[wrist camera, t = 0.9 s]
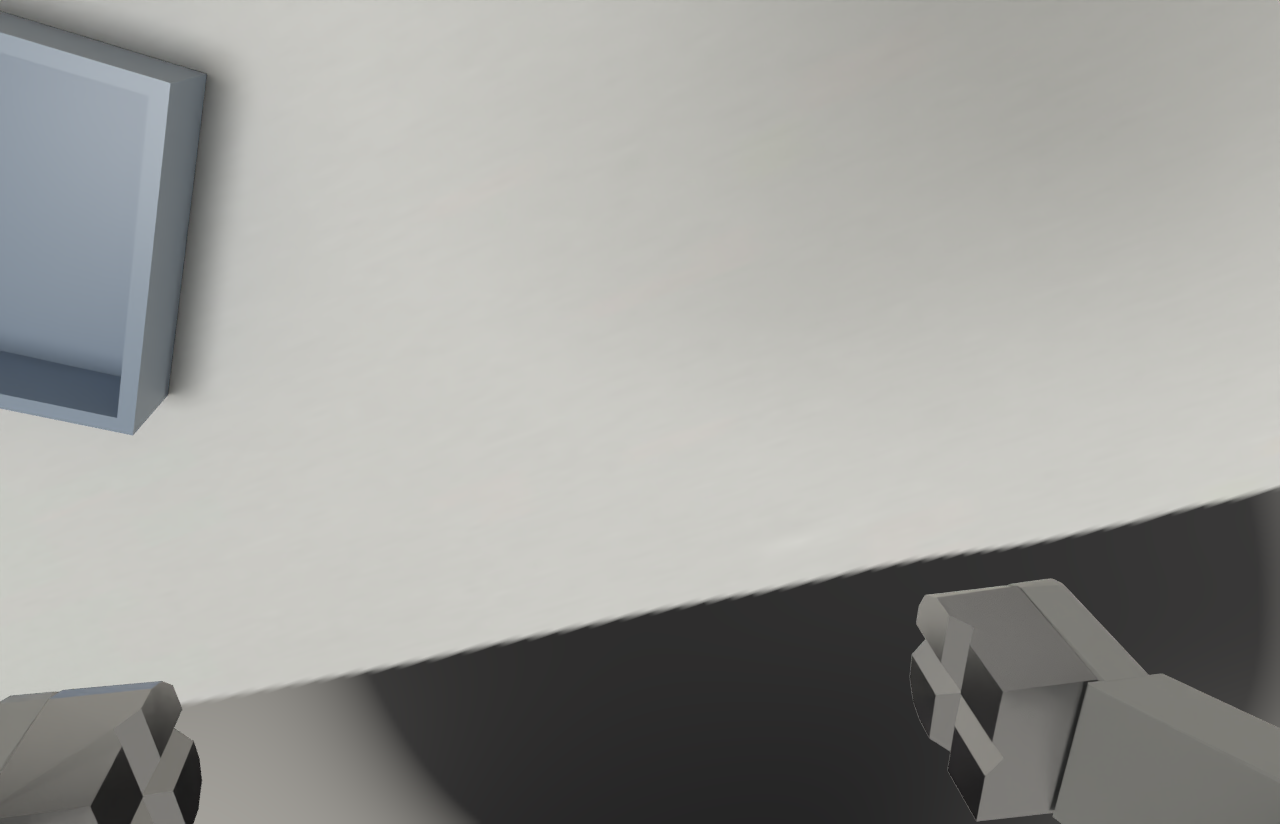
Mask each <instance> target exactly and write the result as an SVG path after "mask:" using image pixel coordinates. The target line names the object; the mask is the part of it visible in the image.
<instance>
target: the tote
mask: <svg viewBox="0 0 1280 824" xmlns="http://www.w3.org/2000/svg"><path fill="white" fill-rule="evenodd" d="M206 77H207V74H205V73H202V72H198V71H195V70H192V69H189V68H185V67H182V66H179V65H175V64H172V63H169V62H166V61H162V60H159V59H156V58H152V57H149V56H146V55H143V54H139V53H136V52H133V51H129V50H126V49H123V48H120V47H116V46H113V45H110V44H106V43H103V42H100V41H97V40H93V39H90V38H87V37H83V36H80V35H77V34H74V33H70V32H67V31H64V30H60V29H57V28H54V27H51V26H47V25H44V24H41V23H37V22H34V21H31V20H28V19H24V18H21V17H18V16H14V15H11V14H8V13H5V12H1V11H0V408H1V409H6V410H11V411H16V412H21V413H26V414H31V415H36V416H41V417H45V418H50V419H55V420H60V421H65V422H70V423H75V424H80V425H85V426H90V427H95V428H100V429H104V430H109V431H114V432H119V433H124V434H129V435H134V434H135V432H136V431H137V430H138V429H139V428H140V427H141V425H142V424H143V423H144V422H145V421H146V420H147V418H148V417H149V416H150V415H151V414H152V413H153V412H154V410H155V409H156V408H157V407H158V406H159V405H160V403H161V402H162V401H163V400H164V399H165V398H166V396H167V395H168V389H169V381H170V373H171V364H172V356H173V348H174V340H175V332H176V323H177V315H178V307H179V299H180V290H181V282H182V274H183V266H184V258H185V249H186V241H187V233H188V225H189V216H190V208H191V200H192V192H193V184H194V175H195V167H196V159H197V151H198V142H199V134H200V126H201V118H202V109H203V101H204V93H205V85H206Z"/></svg>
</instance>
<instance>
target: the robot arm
mask: <svg viewBox="0 0 1280 824" xmlns="http://www.w3.org/2000/svg"><path fill="white" fill-rule="evenodd" d="M916 624H917V626H918V627H919V629H920V631H921V632H922V634H923V635H924V637H925V641H924V642H923V643H922V644H921V645H920V646H919V647H918V648H917V649H916V650H915V652H914V653H913V654H912V659H911V670H910V684H911V691H912V697H913V703H914V706H915V708H916V711H917V714H918V716H919V720H920V722H921V723H922V725H923V727H924V729H925V731H926V733H927V735H928V737H929V738H930V739H932V740H933V741H935V742H936V743H938V744H939V745H941V746H943V747H944V748H946V749H947V750H949V751H950V757H949V764H948V772H949V774H950V776H951V777H952V779H953V781H954V783H955V785H956V786H957V788H958V790H959V792H960V793H961V795H962V797H963V799H964V801H965V802H966V804H967V806H968V807H969V809H970V811H971V813H972V815H973V816H974V818H975V820H976V821H984V820H992V819H1002V818H1011V817H1019V816H1028V815H1038V814H1046V813H1054V815H1053V817H1054V818H1055V819H1056V820H1058V821H1059V822H1061V823H1062V824H1280V728H1278V727H1275V726H1274V725H1271V724H1269V723H1267V722H1265V721H1263V720H1261V719H1258V718H1256V717H1254V716H1252V715H1250V714H1248V713H1246V712H1243V711H1241V710H1239V709H1237V708H1235V707H1233V706H1230V705H1228V704H1226V703H1224V702H1222V701H1220V700H1218V699H1216V698H1213V697H1211V696H1209V695H1207V694H1205V693H1203V692H1200V691H1198V690H1196V689H1194V688H1192V687H1190V686H1187V685H1185V684H1183V683H1181V682H1179V681H1177V680H1175V679H1173V678H1170V677H1168V676H1166V675H1164V674H1155V675H1148V674H1147V673H1146V672H1145V671H1144V670H1143V668H1142V667H1141V666H1140V665H1139V664H1138V663H1137V662H1136V661H1135V660H1134V659H1133V658H1132V657H1131V656H1130V655H1129V654H1128V653H1127V652H1126V650H1125V649H1124V648H1123V647H1122V646H1121V645H1120V644H1119V643H1118V642H1117V641H1116V640H1115V639H1114V638H1113V637H1112V635H1111V634H1110V633H1109V632H1108V631H1107V630H1106V629H1105V628H1104V627H1103V626H1102V625H1101V624H1100V623H1099V622H1098V621H1097V620H1096V619H1095V617H1094V616H1093V615H1092V614H1091V613H1090V612H1089V611H1088V610H1087V609H1086V608H1085V607H1084V606H1083V605H1082V604H1081V602H1080V601H1078V599H1077V598H1076V597H1075V596H1074V595H1073V594H1072V593H1071V592H1070V591H1069V590H1068V589H1067V588H1066V587H1065V586H1064V585H1063V584H1062V583H1060V582H1058V581H1056V580H1054V579H1044V580H1037V581H1029V582H1022V583H1014V584H1009V585H1008V586H998V587H990V588H982V589H973V590H964V591H956V592H948V593H939V594H931V595H925V596H924V598H923V600H922V602H921V603H920V605H919V609H918V616H917V622H916ZM181 711H182V707H181V704H180V702H179V699H178V697H177V695H176V692H175V690H174V687H173V685H171V684H168V683H165V682H163V681H158V682H146V683H135V684H124V685H113V686H102V687H91V688H80V689H69V690H62V691H60V692H46V693H35V694H24V695H13V696H9V697H7V698H6V699H4V700H2V701H0V824H193V823H194V821H195V818H196V815H197V811H198V809H199V800H200V792H201V784H202V776H201V767H200V759H199V756H198V752H197V749H196V746H195V744H194V741H193V740H191V739H190V738H189V737H187V736H186V735H184V734H183V733H181V732H180V731H178V730H177V729H175V728H174V727H175V725H176V722H177V720H178V718H179V716H180V713H181Z"/></svg>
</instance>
